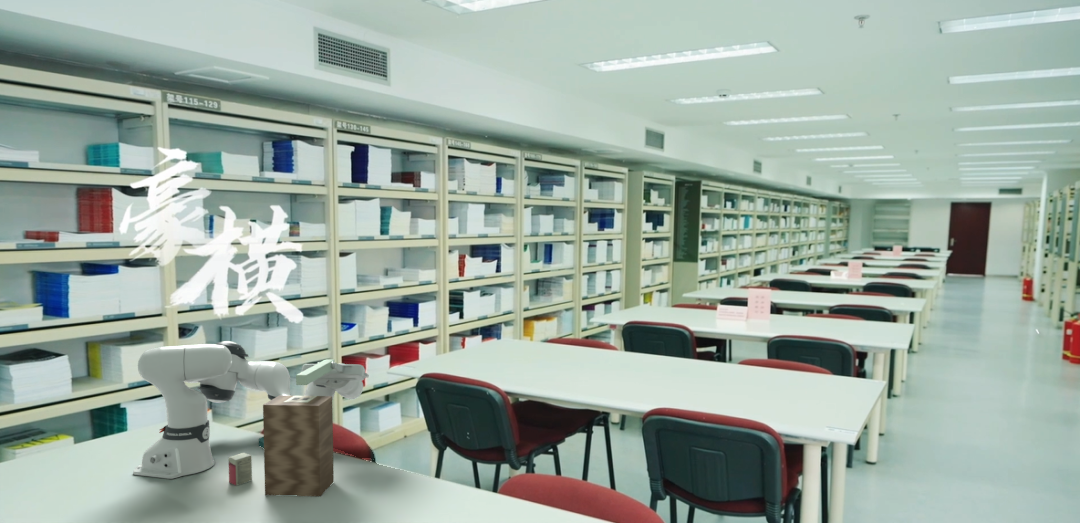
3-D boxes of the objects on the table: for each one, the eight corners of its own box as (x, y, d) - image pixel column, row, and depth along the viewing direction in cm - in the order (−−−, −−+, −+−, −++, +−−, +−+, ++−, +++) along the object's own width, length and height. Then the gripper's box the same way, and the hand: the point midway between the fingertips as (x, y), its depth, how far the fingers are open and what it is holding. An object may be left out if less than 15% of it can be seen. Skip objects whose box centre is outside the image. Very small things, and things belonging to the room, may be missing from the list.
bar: (296, 385, 184) (296, 374, 184) (325, 368, 206) (325, 359, 206) (306, 385, 184) (306, 375, 184) (334, 368, 206) (334, 359, 206)
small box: (244, 477, 192) (244, 451, 192) (252, 480, 190) (251, 454, 189) (228, 482, 188) (227, 456, 188) (236, 486, 186) (235, 459, 185)
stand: (265, 495, 179) (263, 404, 178) (281, 481, 189) (279, 395, 188) (320, 496, 179) (318, 405, 177) (333, 482, 188) (332, 396, 187)
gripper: (368, 386, 213) (356, 374, 201) (309, 385, 214) (293, 373, 202) (371, 368, 216) (359, 355, 204) (312, 367, 217) (297, 354, 205)
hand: (326, 364), depth 203 cm, fingers closed on bar, 3 cm apart
